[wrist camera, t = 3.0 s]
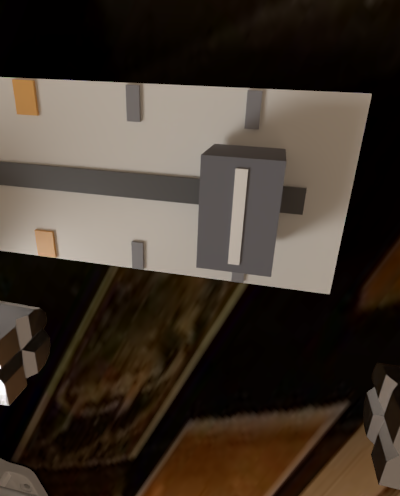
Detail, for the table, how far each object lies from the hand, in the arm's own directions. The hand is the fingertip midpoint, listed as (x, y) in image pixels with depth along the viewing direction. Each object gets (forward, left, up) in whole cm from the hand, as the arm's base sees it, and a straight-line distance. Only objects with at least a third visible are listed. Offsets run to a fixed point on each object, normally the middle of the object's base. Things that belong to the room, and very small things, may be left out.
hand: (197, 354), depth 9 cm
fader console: (+4, +6, -19) cm, 20 cm away
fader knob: (0, 0, -14) cm, 14 cm away
